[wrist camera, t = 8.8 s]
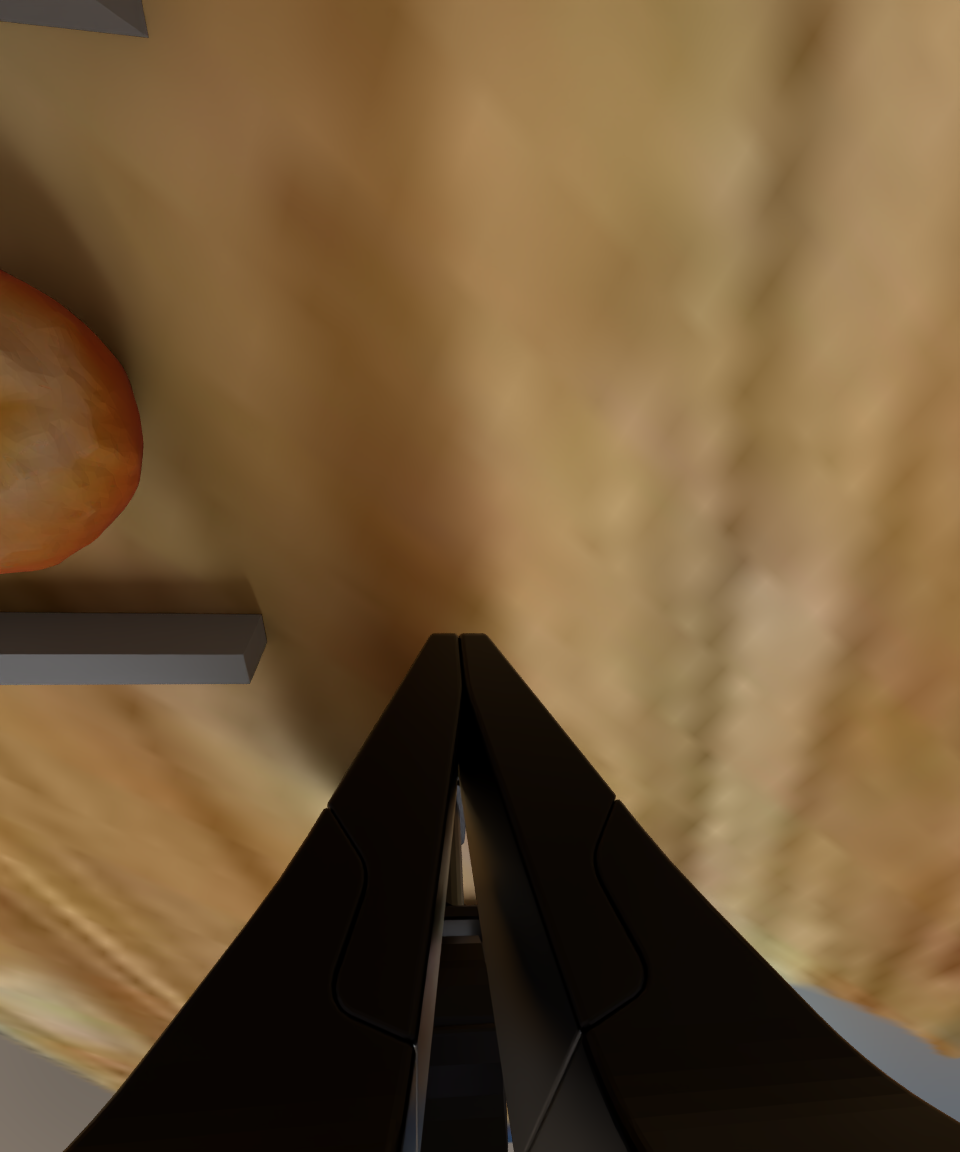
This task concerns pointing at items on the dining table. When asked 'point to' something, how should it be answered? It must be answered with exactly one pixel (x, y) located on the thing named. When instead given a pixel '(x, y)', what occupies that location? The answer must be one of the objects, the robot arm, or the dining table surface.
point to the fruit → (59, 432)
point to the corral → (120, 640)
